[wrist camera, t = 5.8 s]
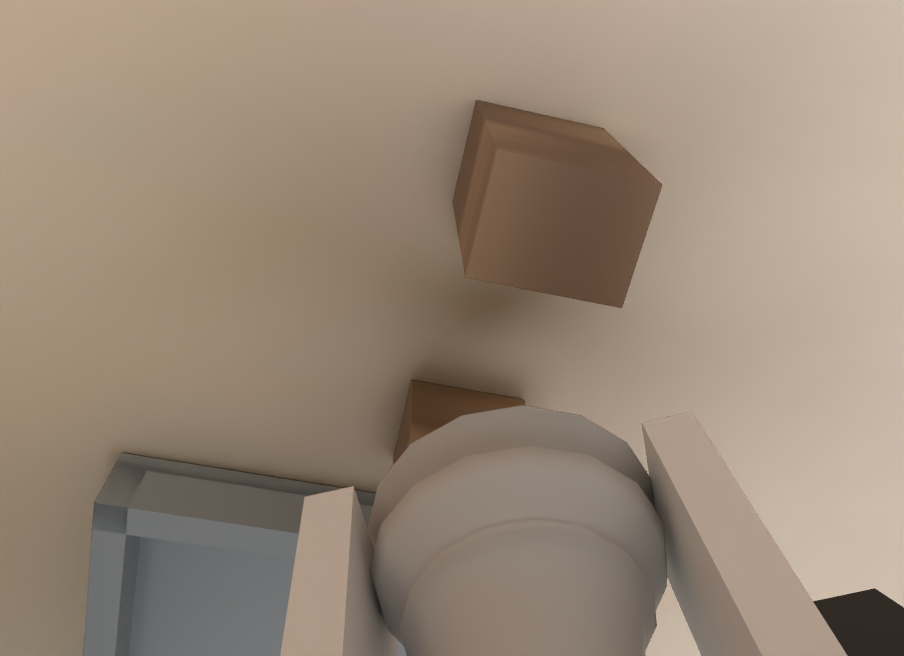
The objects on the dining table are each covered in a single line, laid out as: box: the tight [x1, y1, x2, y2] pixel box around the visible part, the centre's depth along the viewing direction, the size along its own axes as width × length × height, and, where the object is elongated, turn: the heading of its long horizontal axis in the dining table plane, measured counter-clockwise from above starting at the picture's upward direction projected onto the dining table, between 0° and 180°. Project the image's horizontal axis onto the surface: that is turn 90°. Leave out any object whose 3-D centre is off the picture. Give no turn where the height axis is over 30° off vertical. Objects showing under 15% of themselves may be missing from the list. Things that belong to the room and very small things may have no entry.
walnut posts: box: [393, 100, 662, 465], centre depth 19 cm, size 3×10×5 cm, turn 167°
